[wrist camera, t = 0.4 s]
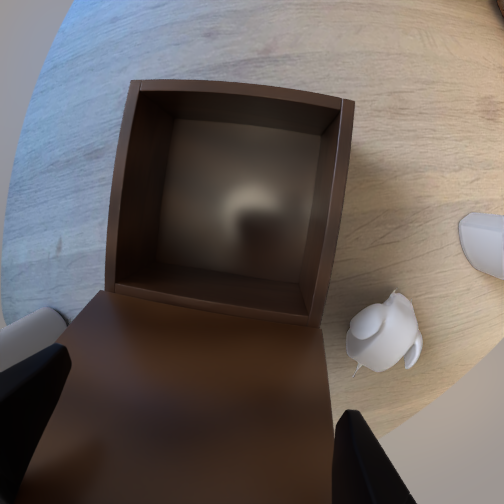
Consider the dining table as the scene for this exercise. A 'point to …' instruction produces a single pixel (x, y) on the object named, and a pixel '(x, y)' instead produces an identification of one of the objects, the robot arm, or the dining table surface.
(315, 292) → the box
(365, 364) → the elephant figurine
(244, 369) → the lid
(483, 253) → the eye dropper bottle
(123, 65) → the dining table surface
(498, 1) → the bread
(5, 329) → the beverage can
